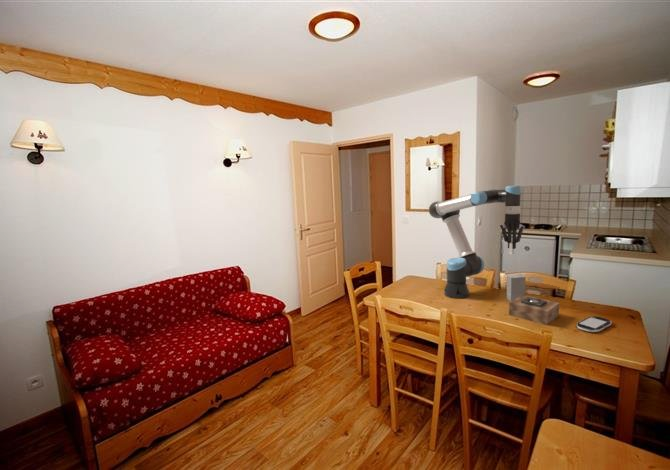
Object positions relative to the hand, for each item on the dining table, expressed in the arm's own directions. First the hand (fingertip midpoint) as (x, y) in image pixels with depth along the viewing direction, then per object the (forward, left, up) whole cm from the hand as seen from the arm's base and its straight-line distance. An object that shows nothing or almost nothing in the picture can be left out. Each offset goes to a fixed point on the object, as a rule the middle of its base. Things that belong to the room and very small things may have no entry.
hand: (511, 254), depth 183 cm
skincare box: (+1, +5, -30) cm, 30 cm away
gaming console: (+40, -4, -30) cm, 50 cm away
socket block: (+16, -10, -29) cm, 35 cm away
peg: (+16, -10, -29) cm, 35 cm away
